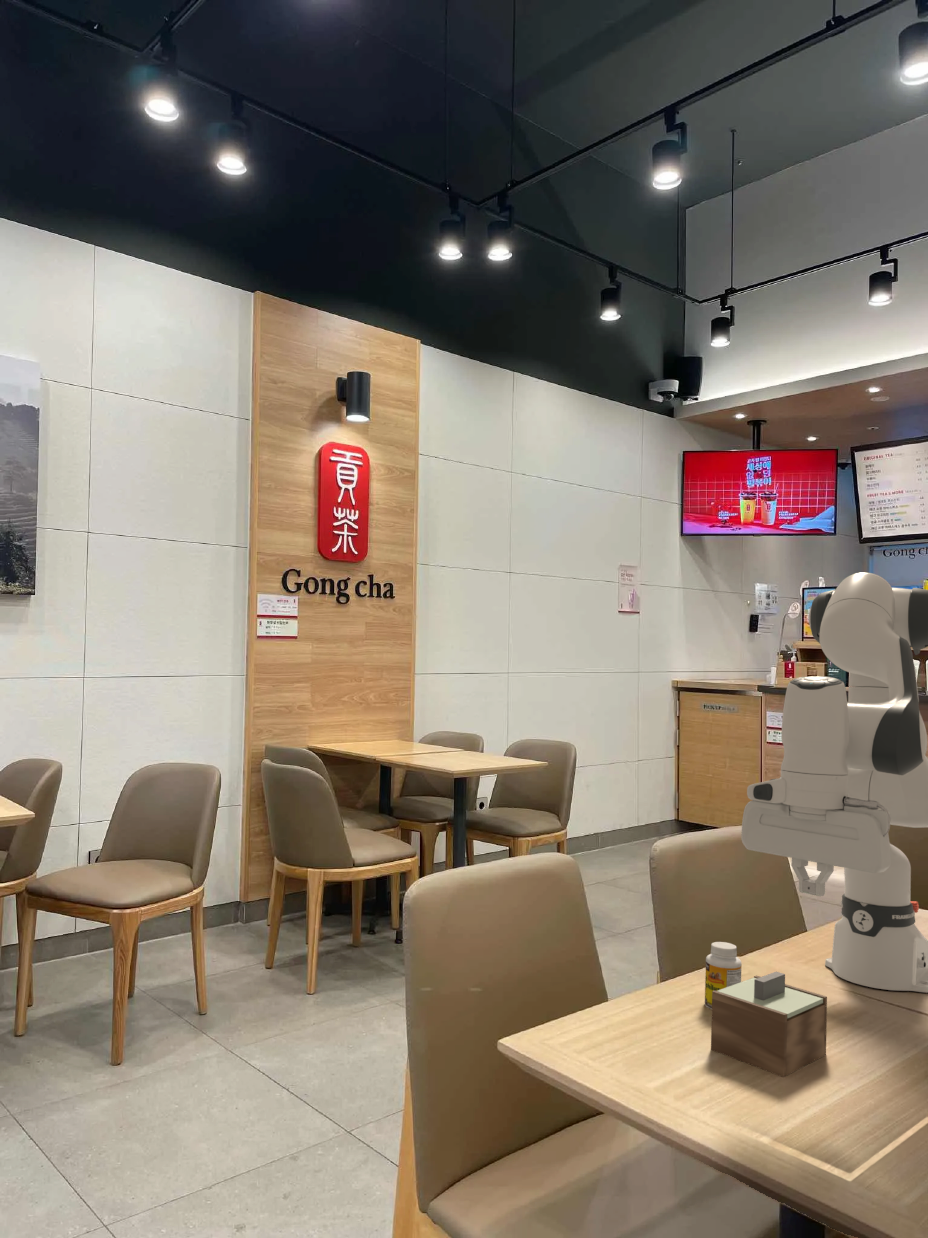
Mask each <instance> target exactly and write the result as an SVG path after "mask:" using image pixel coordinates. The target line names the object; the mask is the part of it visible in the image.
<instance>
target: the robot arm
mask: <svg viewBox="0 0 928 1238" xmlns="http://www.w3.org/2000/svg"><path fill="white" fill-rule="evenodd" d="M808 623H809V624H808V625H809V629H810V630H811V631H810V632H811V635H812V637H813V638H814V640H815V641H816V642H817V643H818V644H819V645H820V647H821V650H822V652H823V654H824V655H825V657H826V658H827V659H828V661H830V662H831V663H832V664H834V665H835V666H836V667H837V668H839V669H841V670H842V671H845V672H847V673H849V674H848V675H849V676H848V693H847V690H846V687H845V686H846V685H845V683H844V681H843V680H840V679H838V678H836V677H832V676H822V675H821V676H820V675H819V676H816V675H811V676H810V675H809V676H799V677H796V678H794V679H792V680H790V681H789V682H788V684H787V687H786V691H785V696H784V702H783V709H782V710H783V711H782V720H781V743H782V745H783V758H782V761H781V764H780V777H779V778H772V779H769V780H765V781H761V782H755V783H752V784H749V785H748V786H747V787H746V796H747V798H748V799H749V800H750V801H748V802H747V803H746V805H745V806H744V810H743V813H742V814H743V815H742V820H741V821H742V822H741V842H742V845H743V846H744V847H745V849H746V850H748V851H754V852H758V853H764V854H770V855H775V856H781V857H786V858H791V867H792V870H793V871H794V874H795V876H796V877H797V880H798V891H799V893H802V894H807V895H812V896H816V897H823V896H825V893H826V883H827V882H828V880H829V878H830V877H831V876H832V874H833V873H834V870H835V869H834V868H835V867H837V868H843V869H844V873H843V874H844V875H843V876H844V893H843V894H841V895H842V896H841V902H840V907H841V912H840V913H841V915H842V917H841V919H839V920H837V921H836V922H835V923H834V929H833V939H832V940H833V941H832V950H831V951H832V952H831V953H832V954H831V957H829V958H826V959H825V960H824V965H825V966H826V967H828V968H829V969H831V970H832V971H833V974H835V976H838V977H839V978H841V979H843V980H845V981H848V982H849V983H853V984H857V985H860V986H864V987H869V988H874V989H881V990H888V991H898V992H899V991H907V992H909V991H910V992H919V993H928V939H927V938H926V936H924V934H923V933H922V932H921V931H920V930H919V928H918V927H917V926H916V925H915V924H916V916H915V914H917V913H918V912H919V909H920V906H919V904H920V903H919V901H917V900H916V901H911V888H912V886H911V884H912V883H911V881H912V878H911V876H912V866H911V862H910V860H909V858H908V857H907V855H906V854H905V852H903V851H902V850H901V849H900V848H899V847H897V846H895V845H893V844H892V843H891V842H890V836H889V832H890V830H891V829H890V828H891V825H892V826H899V827H905V828H914V829H917V828H928V756H926V754H927V749H928V734H927V729H926V724H925V722H924V720H923V716H922V714H921V711H920V706H919V705H920V699H919V691H918V684H917V683H918V682H917V681H918V680H917V674H916V673H917V672H916V665H915V663H914V655H915V656H916V655H919V654H920V652H921V650H923V649H925V648H928V589H924V588H920V587H913V588H912V589H911V588H902V587H892V585H890V583H889V582H888V581H887V580H886V579H885V578H883V577H882V576H880V575H878V574H875V573H872V572H855V573H852V574H851V575H848V576H847V577H844V579H842V581H841V582H840V583H839V584H838V586H837V587H836V588H835V589H833V590H827V591H824V592H821V593H820V594H818V595H817V596H816V597H814V599H813V600H812V602H811V606H810V609H809V613H808ZM913 652H914V653H913ZM913 654H914V655H913ZM847 694H848V696H847ZM809 862H813V863H816V871H817V872H819V874H818V876H817V878H816V879H811V878H810V876H809V874H808V871H807V869H806V867H807V866H809Z"/></svg>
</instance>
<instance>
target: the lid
mask: <svg viewBox="0 0 928 1238" xmlns="http://www.w3.org/2000/svg"><path fill="white" fill-rule="evenodd" d="M785 984H786V973H783V972H779V971H774V972H770V973H768V974H766V975H763V976H760V978H754V977H751V978H748V979H746V980H743V981H741V982H740V983H737V984H735V985H732V986H729V987H726V988H724V989H721V990H718V992H721V993H724V994H728V995H731V996H734V997H737V998H740V999H743V1000H746V1001H749V1002H752V1003H755V1004H758V1005H761V1006H764V1007H768V1008H771V1009H774V1010H777V1011H780V1012H783V1013H786V1014H787V1019H788V1018H790V1017H792V1016H794V1015H797V1014H799V1013H801V1012H804V1011H806V1010H808V1009H810V1008H813V1007H815V1006H817V1005H819V1004H822V1003H823V998H819V997H816V996H813V995H810V994H806V993H803V992H800V991H796V990H793V989H790V988H786V987H785Z"/></svg>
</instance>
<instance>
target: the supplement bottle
mask: <svg viewBox="0 0 928 1238" xmlns="http://www.w3.org/2000/svg"><path fill="white" fill-rule="evenodd" d="M710 946H711V947H710V954H708V955H707V956H706V957H705V978H704V979H705V980H704V981H705V983H704V986H705V987H704V1006H705V1007H706V1008H708V1009H709V1010H710V1009H711V1010H712V991H718V990H721V989H724V988H726V987H729V986H732V985H735V984H737V983H740V982H742V960H741V959H740V958H739V957H738V955H737V954H738V952H737V950H738V949H737V945H735V944H733V943H731V942H726V941H715V942H711V945H710Z"/></svg>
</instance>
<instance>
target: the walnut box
mask: <svg viewBox="0 0 928 1238" xmlns="http://www.w3.org/2000/svg"><path fill="white" fill-rule="evenodd" d="M760 977H761V976H759V975H755V976H753V978H760ZM785 987H786V988H790V989H793V990H796V991H800V992H803V993H806V994H810V995H813V996H816V997H819V998H823V1003H822V1004H819V1005H817V1006H815V1007H813V1008H810V1009H808V1010H806V1011H804V1012H801V1013H799V1014H797V1015H794V1016H792V1017H790V1018H788V1019H787V1014H786V1013H783V1012H780V1011H777V1010H774V1009H771V1008H768V1007H764V1006H761V1005H758V1004H755V1003H752V1002H749V1001H746V1000H743V999H740V998H737V997H734V996H731V995H728V994H724V993H721V992H718V991H712V1009H711V1023H710V1024H711V1026H710V1027H711V1029H710V1030H711V1031H710V1033H711V1034H710V1036H711V1037H710V1050H711V1051H714V1052H717V1053H718V1054H721V1055H724V1056H727V1057H730V1058H732V1059H734V1060H737V1061H740V1062H742V1063H744V1064H748V1065H750V1066H752V1067H755V1068H758V1069H761V1070H763V1071H765V1072H768V1073H771V1074H774V1075H776V1076H779V1077H782V1078H785V1077H786V1076H789V1075H790V1074H793V1073H795V1072H796V1071H798V1070H800V1069H802V1068H803V1067H806V1066H808V1065H809V1064H812V1063H813V1062H816V1061H817V1060H819V1059H821V1058H823V1057H825V1056H827V1025H828V1023H827V1019H828V1018H827V1016H828V1014H827V1013H828V1011H827V1010H828V1008H827V1007H828V1004H827V1003H828V995H827V996H826V995H824V994H820V993H817V992H813V991H809V990H807V989H803V988H799V987H796V986H794V985H793V986H792V985H789V984H787V983H785Z"/></svg>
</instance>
